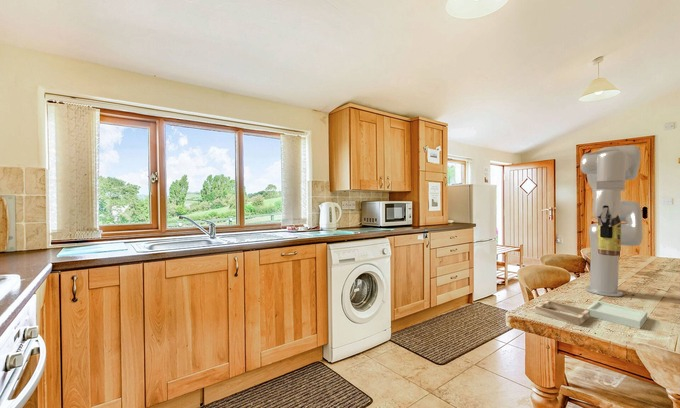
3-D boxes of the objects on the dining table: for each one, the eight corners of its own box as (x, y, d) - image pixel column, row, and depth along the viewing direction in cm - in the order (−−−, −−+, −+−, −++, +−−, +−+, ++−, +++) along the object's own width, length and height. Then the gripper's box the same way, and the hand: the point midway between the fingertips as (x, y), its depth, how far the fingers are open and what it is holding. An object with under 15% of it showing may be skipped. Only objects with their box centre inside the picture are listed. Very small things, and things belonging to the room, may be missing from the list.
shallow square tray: (596, 306, 116) (596, 300, 115) (647, 318, 104) (647, 311, 104) (585, 315, 107) (585, 308, 107) (639, 329, 96) (639, 321, 96)
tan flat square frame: (547, 306, 116) (547, 300, 116) (589, 317, 105) (589, 310, 105) (535, 313, 109) (535, 306, 108) (579, 325, 98) (579, 318, 98)
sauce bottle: (622, 257, 101) (624, 199, 100) (598, 255, 105) (600, 199, 104) (618, 253, 107) (619, 199, 106) (595, 252, 110) (596, 199, 109)
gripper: (603, 187, 113) (602, 233, 114) (589, 186, 103) (587, 237, 104) (630, 186, 107) (629, 235, 107) (618, 186, 97) (616, 240, 97)
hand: (609, 236), depth 105 cm, fingers closed on sauce bottle, 6 cm apart
